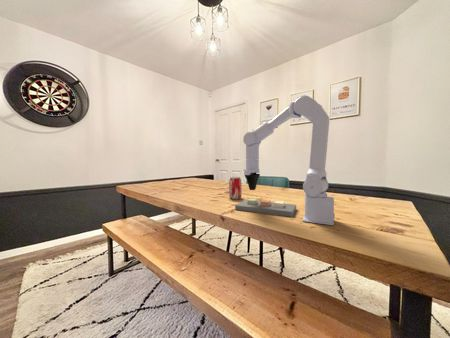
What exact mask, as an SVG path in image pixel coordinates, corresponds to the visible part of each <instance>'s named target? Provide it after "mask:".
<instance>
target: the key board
mask: <svg viewBox="0 0 450 338" xmlns="http://www.w3.org/2000/svg"><path fill="white" fill-rule="evenodd" d="M247 200H248V199H244V200H242V201H241V202H238V203H237V204H235V205H234V210H235V211H243V212H249V213H256V214H257V213H259V214H265V215H273V216H282V217H290V218H293V216H294V215H295V212H296V210H297V204H292V203H285V207H284V208H276V207H274V203H275V202H271V206H269V207H267V206H260V201H261V200H258V204H257V205H249V204H247Z"/></svg>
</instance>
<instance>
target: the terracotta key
mask: <svg viewBox="0 0 450 338" xmlns="http://www.w3.org/2000/svg"><path fill="white" fill-rule="evenodd" d="M259 201H260V206H267V207H269V206H271V199H269V200H268V199H262V200H259Z"/></svg>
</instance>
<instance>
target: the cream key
mask: <svg viewBox="0 0 450 338" xmlns="http://www.w3.org/2000/svg"><path fill="white" fill-rule="evenodd" d="M285 202H286V201H282V200H281V201H278V200H276V201H274V202H273V203H274V207H276V208H284V207H285V204H286V203H285Z"/></svg>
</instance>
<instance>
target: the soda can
mask: <svg viewBox="0 0 450 338" xmlns="http://www.w3.org/2000/svg"><path fill="white" fill-rule="evenodd" d="M228 188H229V189H228V190H229V191H228V196H229V198H231V199H232V200H238V199H239V200H240V199H241V198H242V179H241V177H240V176H230V178H229V180H228Z"/></svg>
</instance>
